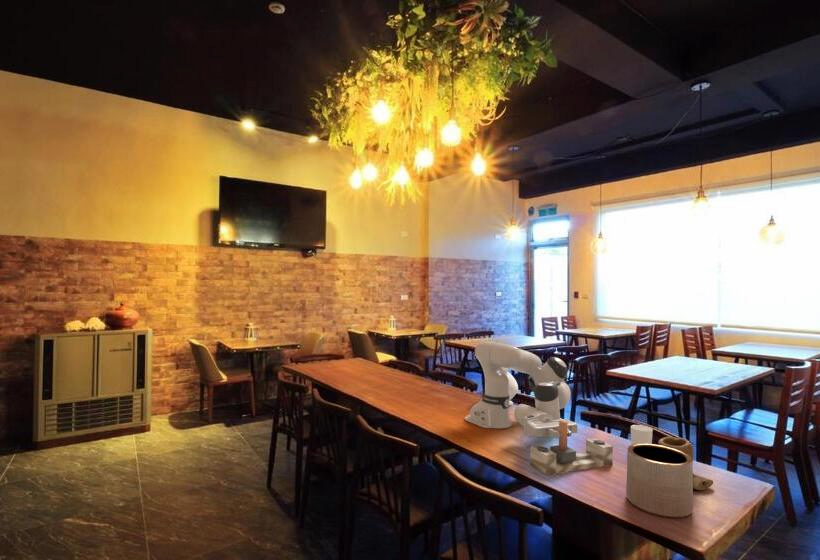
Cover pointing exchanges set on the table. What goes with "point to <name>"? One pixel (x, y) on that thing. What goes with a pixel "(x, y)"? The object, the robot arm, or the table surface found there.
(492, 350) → the robot arm
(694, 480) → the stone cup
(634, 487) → the planter
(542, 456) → the rail track
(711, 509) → the table surface
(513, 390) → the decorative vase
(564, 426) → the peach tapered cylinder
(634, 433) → the white cup
